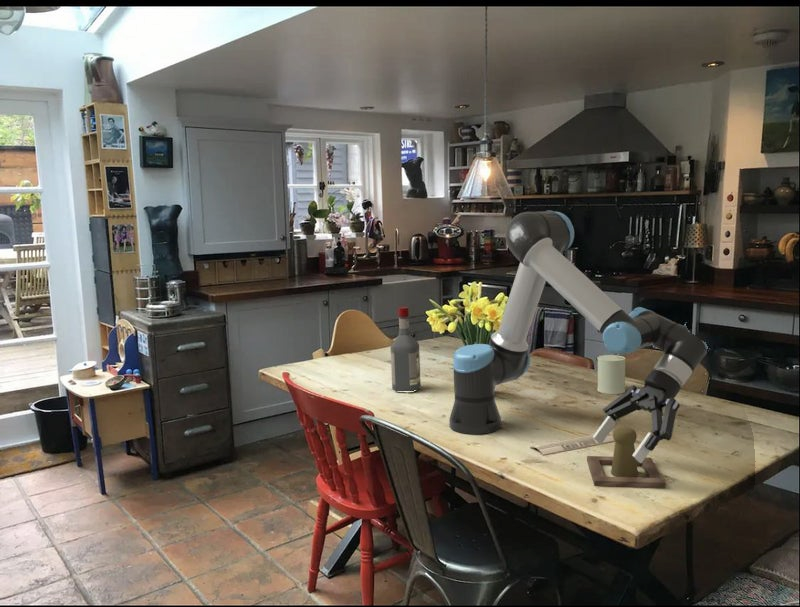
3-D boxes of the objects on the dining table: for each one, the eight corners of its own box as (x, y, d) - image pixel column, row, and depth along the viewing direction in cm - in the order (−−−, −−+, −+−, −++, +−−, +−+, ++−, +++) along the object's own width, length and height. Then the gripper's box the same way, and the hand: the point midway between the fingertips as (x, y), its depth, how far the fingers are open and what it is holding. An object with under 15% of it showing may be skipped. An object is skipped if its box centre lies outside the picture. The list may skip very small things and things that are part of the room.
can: (625, 395, 213) (625, 359, 211) (596, 393, 216) (596, 358, 214) (625, 387, 221) (625, 353, 220) (597, 386, 224) (597, 353, 223)
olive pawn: (620, 480, 145) (621, 434, 144) (605, 471, 151) (605, 426, 150) (643, 476, 147) (644, 430, 146) (627, 467, 153) (628, 423, 151)
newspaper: (603, 436, 176) (603, 430, 176) (621, 444, 170) (621, 438, 169) (530, 450, 168) (529, 444, 168) (545, 459, 162) (545, 453, 161)
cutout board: (594, 485, 143) (594, 480, 143) (586, 460, 158) (586, 455, 158) (665, 488, 141) (665, 482, 140) (650, 462, 155) (650, 457, 155)
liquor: (390, 392, 227) (387, 309, 224) (398, 386, 236) (395, 305, 232) (415, 393, 225) (412, 309, 221) (422, 387, 233) (419, 305, 229)
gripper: (719, 400, 141) (665, 477, 137) (638, 376, 164) (590, 442, 160) (701, 380, 138) (645, 458, 135) (622, 358, 161) (572, 425, 158)
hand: (615, 449), depth 148 cm, fingers open, 13 cm apart
